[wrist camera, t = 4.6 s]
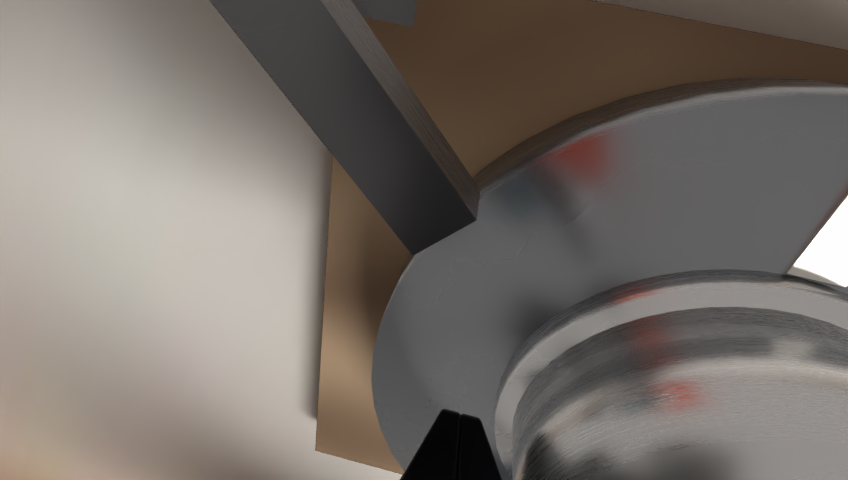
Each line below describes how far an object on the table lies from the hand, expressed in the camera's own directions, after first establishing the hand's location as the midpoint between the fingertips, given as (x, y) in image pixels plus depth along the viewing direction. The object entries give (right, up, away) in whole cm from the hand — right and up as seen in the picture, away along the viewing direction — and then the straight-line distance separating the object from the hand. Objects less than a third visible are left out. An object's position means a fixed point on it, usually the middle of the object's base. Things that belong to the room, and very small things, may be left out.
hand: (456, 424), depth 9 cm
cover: (+5, 0, +1) cm, 5 cm away
